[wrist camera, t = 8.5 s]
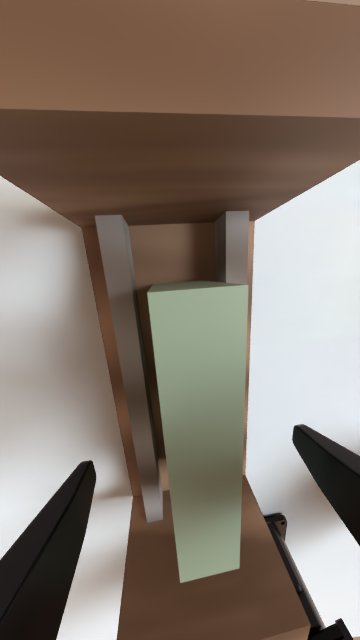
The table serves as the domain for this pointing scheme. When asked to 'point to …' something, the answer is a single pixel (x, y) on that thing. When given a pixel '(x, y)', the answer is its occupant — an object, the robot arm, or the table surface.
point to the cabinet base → (177, 219)
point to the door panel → (202, 416)
